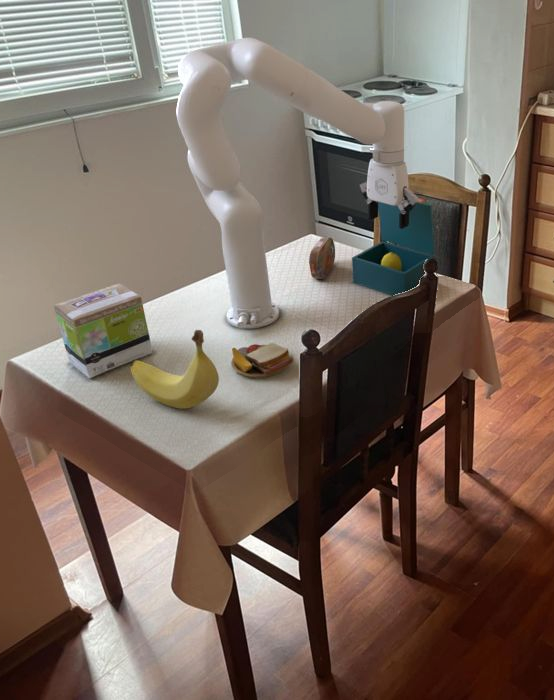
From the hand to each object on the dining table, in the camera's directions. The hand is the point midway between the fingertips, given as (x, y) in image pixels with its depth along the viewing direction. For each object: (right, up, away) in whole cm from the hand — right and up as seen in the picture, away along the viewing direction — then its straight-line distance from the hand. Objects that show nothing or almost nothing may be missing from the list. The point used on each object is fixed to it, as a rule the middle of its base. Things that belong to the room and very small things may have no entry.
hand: (388, 222), depth 183 cm
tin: (-19, -11, +15) cm, 26 cm away
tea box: (-61, -34, -22) cm, 73 cm away
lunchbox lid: (+4, +1, +6) cm, 7 cm away
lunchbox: (+1, -14, +10) cm, 17 cm away
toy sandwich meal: (-26, -36, -24) cm, 51 cm away
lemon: (0, -14, +9) cm, 17 cm away
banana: (-41, -43, -37) cm, 70 cm away
